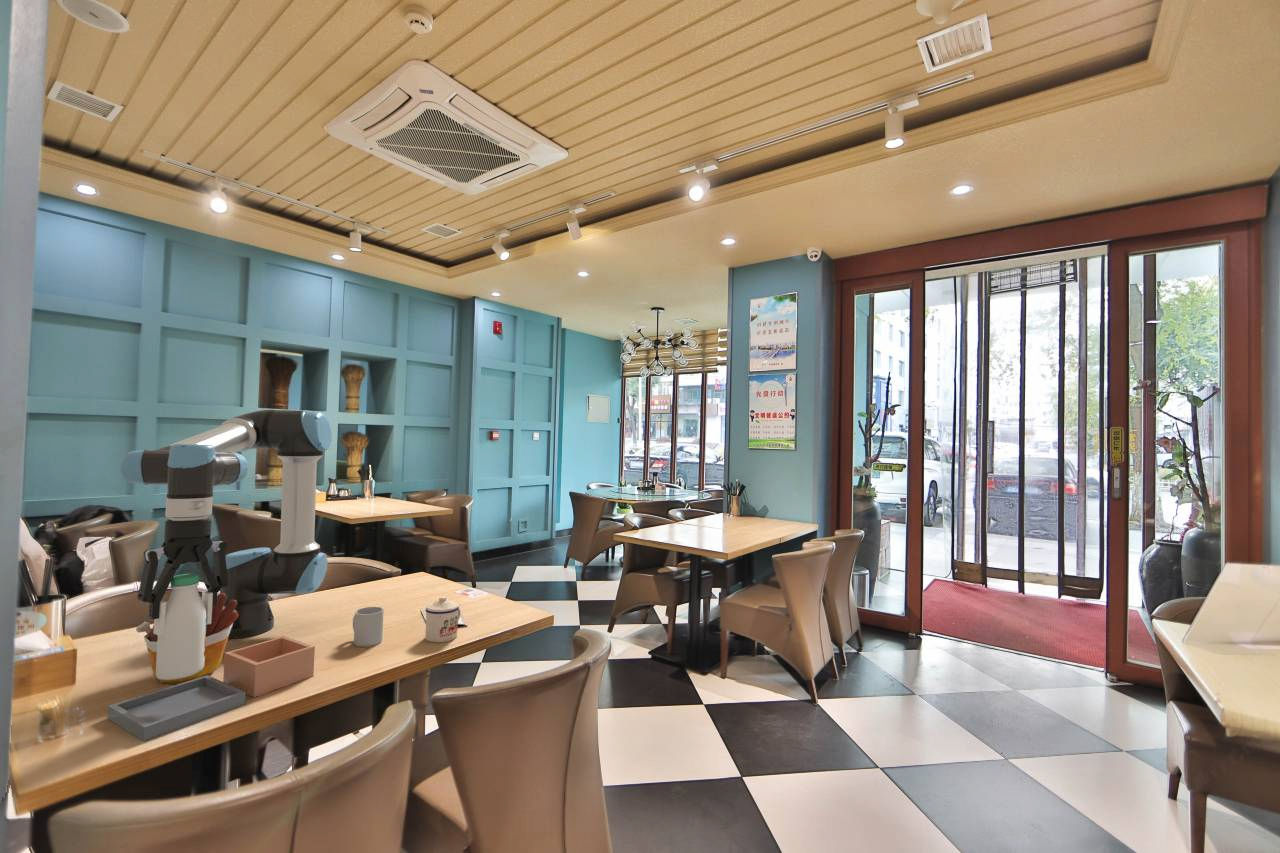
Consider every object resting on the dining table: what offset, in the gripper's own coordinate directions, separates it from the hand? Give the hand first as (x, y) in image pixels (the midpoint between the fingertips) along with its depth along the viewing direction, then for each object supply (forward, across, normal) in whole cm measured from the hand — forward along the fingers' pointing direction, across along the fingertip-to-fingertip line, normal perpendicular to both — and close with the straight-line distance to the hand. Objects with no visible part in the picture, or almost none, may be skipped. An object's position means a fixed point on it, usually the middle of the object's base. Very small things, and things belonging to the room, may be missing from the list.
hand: (183, 628), depth 113 cm
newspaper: (+18, +70, +1) cm, 73 cm away
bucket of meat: (+17, +10, +18) cm, 27 cm away
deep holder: (+17, +18, 0) cm, 24 cm away
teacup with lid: (+17, +60, -12) cm, 63 cm away
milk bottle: (+9, 0, 0) cm, 9 cm away
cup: (+17, +44, +4) cm, 48 cm away
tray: (+17, 0, 0) cm, 17 cm away
